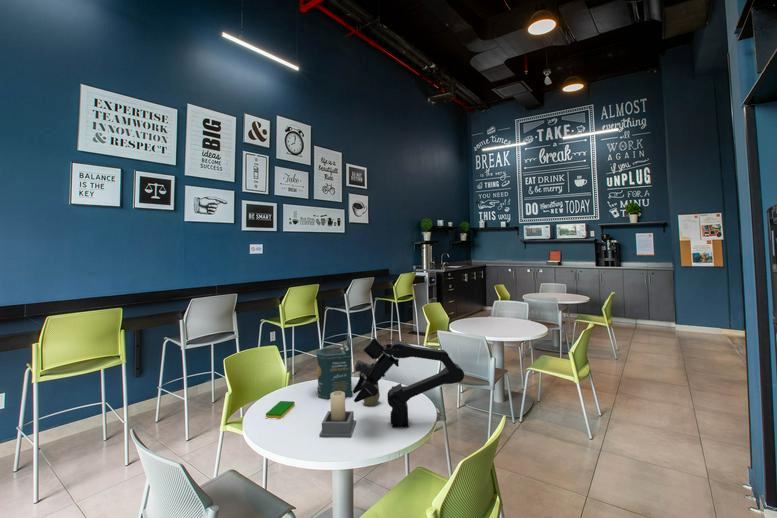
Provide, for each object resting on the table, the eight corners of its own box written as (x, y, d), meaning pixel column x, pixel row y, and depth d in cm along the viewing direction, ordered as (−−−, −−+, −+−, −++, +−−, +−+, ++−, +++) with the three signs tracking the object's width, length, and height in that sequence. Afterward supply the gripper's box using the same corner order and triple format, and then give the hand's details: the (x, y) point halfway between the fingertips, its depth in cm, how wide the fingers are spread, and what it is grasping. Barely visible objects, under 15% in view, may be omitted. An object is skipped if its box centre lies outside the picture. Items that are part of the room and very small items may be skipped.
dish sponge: (295, 406, 164) (294, 401, 164) (281, 420, 150) (281, 414, 150) (280, 405, 165) (280, 400, 165) (265, 419, 152) (265, 413, 152)
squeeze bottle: (364, 408, 159) (363, 367, 159) (360, 401, 167) (359, 362, 167) (381, 405, 161) (380, 366, 161) (377, 399, 169) (376, 361, 169)
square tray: (356, 422, 146) (355, 410, 146) (351, 437, 134) (350, 424, 134) (326, 422, 146) (326, 410, 146) (319, 437, 134) (319, 423, 134)
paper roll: (348, 424, 142) (347, 391, 141) (341, 431, 136) (340, 397, 136) (335, 422, 144) (335, 390, 144) (328, 429, 138) (327, 395, 138)
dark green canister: (352, 397, 172) (351, 339, 172) (318, 401, 169) (316, 341, 169) (348, 385, 188) (347, 332, 188) (317, 389, 185) (315, 334, 184)
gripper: (364, 348, 151) (338, 376, 150) (368, 360, 133) (339, 392, 131) (383, 365, 152) (358, 393, 151) (390, 379, 134) (361, 412, 132)
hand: (354, 397), depth 141 cm, fingers open, 9 cm apart
